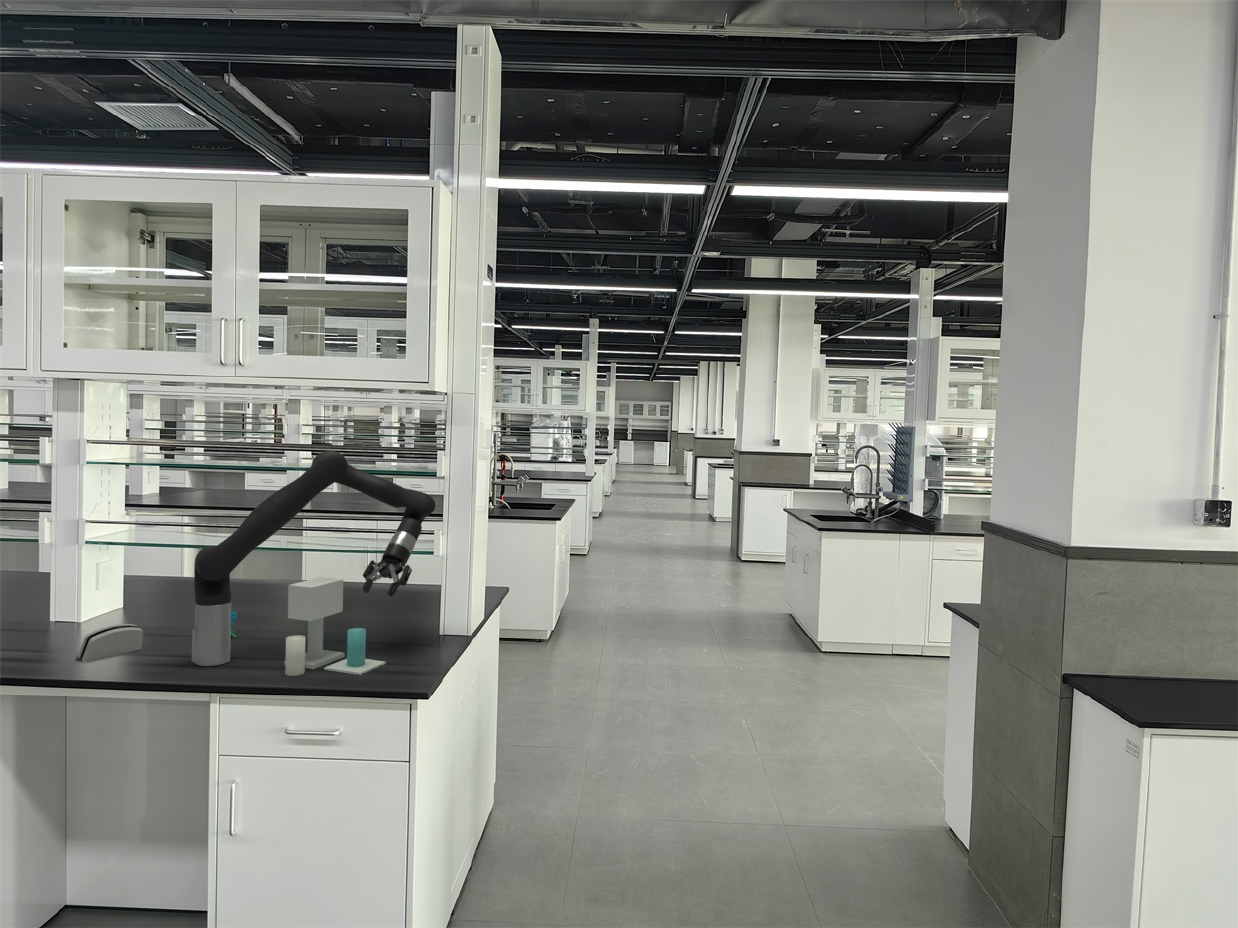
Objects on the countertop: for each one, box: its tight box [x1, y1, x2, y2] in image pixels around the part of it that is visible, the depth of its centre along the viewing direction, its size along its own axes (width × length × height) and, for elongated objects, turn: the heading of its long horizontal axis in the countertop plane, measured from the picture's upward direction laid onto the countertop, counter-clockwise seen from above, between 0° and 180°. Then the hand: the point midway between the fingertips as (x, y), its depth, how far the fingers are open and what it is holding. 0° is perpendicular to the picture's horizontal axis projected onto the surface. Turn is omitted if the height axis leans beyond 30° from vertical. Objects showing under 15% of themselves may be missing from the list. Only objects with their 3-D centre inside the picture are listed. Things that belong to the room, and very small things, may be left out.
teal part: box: [346, 627, 367, 667], centre depth 234 cm, size 5×5×10 cm
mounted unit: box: [283, 576, 346, 670], centre depth 238 cm, size 10×15×23 cm
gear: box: [231, 610, 237, 639], centre depth 263 cm, size 11×6×10 cm
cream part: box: [284, 634, 306, 677], centre depth 226 cm, size 5×5×10 cm
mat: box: [323, 658, 387, 676], centre depth 234 cm, size 12×12×1 cm
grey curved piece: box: [74, 623, 144, 663], centre depth 237 cm, size 17×5×10 cm, turn 151°
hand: (377, 593), depth 244 cm, fingers open, 8 cm apart
